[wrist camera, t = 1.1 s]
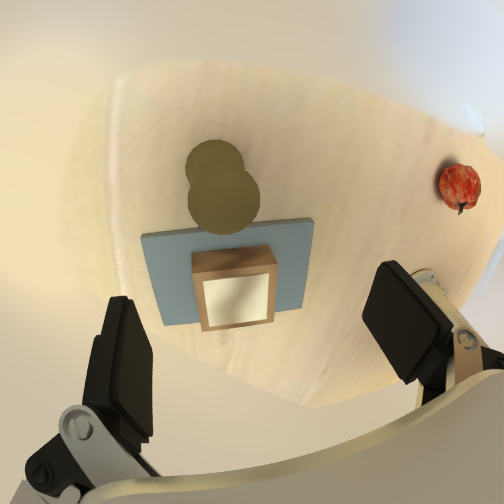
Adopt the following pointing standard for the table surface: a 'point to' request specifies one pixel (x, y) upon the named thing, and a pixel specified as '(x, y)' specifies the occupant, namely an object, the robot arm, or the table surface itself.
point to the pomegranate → (460, 187)
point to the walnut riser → (235, 286)
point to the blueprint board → (197, 240)
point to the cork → (220, 188)
